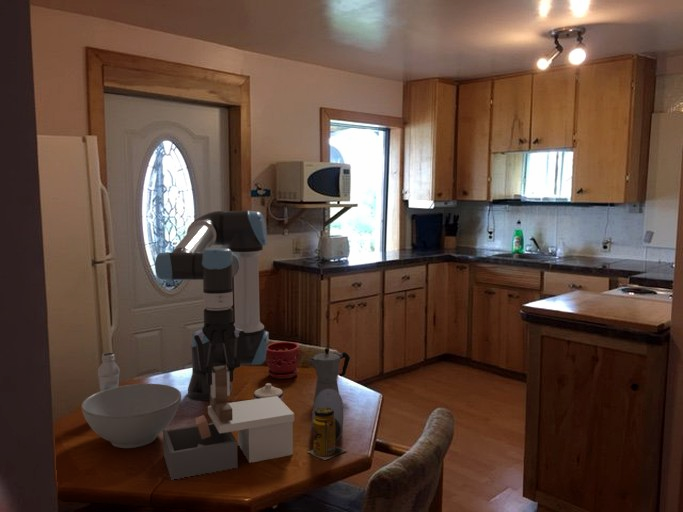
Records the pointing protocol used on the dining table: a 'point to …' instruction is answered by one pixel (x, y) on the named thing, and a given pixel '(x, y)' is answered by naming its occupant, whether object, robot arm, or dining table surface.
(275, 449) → the board
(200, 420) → the terracotta tile
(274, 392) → the teacup with lid
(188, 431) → the box
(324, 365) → the coffeepot
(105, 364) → the plastic bottle
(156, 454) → the dining table surface
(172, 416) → the decorative bowl
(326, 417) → the condiment
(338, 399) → the bluetooth speaker
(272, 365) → the plant pot
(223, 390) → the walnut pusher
